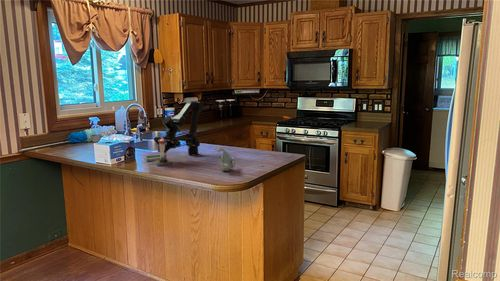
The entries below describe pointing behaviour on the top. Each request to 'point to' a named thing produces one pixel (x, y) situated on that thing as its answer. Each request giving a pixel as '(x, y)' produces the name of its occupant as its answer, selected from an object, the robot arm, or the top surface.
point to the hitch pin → (162, 150)
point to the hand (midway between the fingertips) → (161, 152)
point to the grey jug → (226, 160)
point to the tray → (152, 158)
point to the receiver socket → (163, 162)
